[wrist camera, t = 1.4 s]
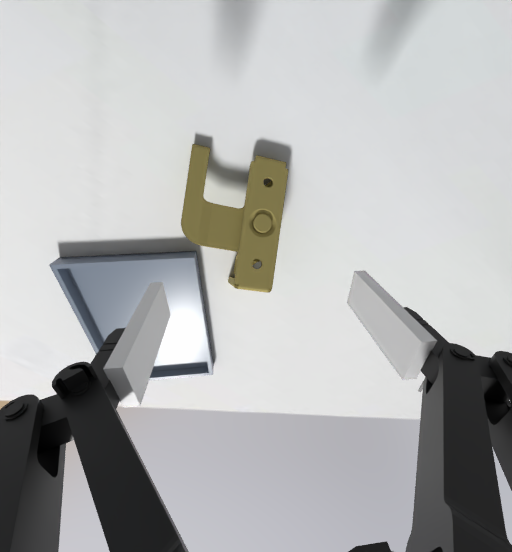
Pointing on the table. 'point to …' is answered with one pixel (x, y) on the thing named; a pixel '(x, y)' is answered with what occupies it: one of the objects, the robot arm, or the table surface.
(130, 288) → the tray
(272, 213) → the bracket
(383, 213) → the table surface
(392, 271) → the table surface
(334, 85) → the table surface
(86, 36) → the table surface
